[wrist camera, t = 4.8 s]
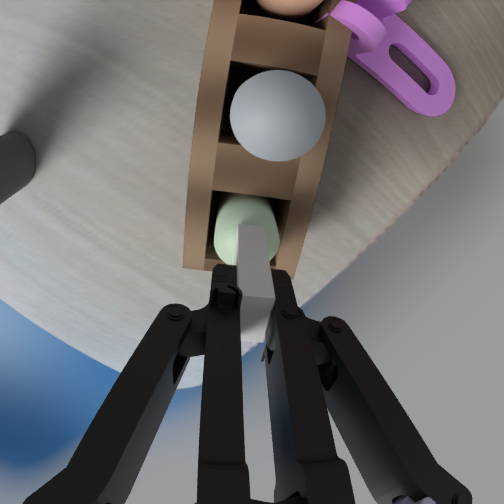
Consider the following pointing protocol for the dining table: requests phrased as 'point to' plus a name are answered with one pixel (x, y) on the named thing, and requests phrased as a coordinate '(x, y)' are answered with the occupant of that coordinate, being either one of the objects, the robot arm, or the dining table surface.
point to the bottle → (15, 163)
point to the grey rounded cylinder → (277, 115)
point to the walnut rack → (228, 147)
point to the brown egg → (288, 7)
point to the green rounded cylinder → (243, 222)
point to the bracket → (406, 40)
